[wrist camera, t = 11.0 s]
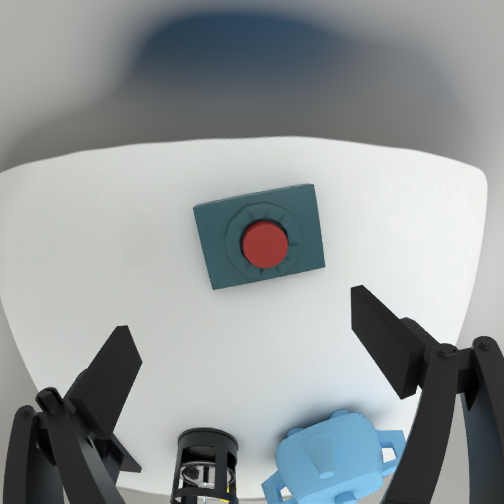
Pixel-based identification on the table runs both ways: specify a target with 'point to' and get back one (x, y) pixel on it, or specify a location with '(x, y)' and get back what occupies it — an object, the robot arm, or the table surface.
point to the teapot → (333, 461)
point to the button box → (247, 213)
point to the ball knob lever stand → (114, 456)
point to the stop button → (265, 244)
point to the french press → (205, 467)
